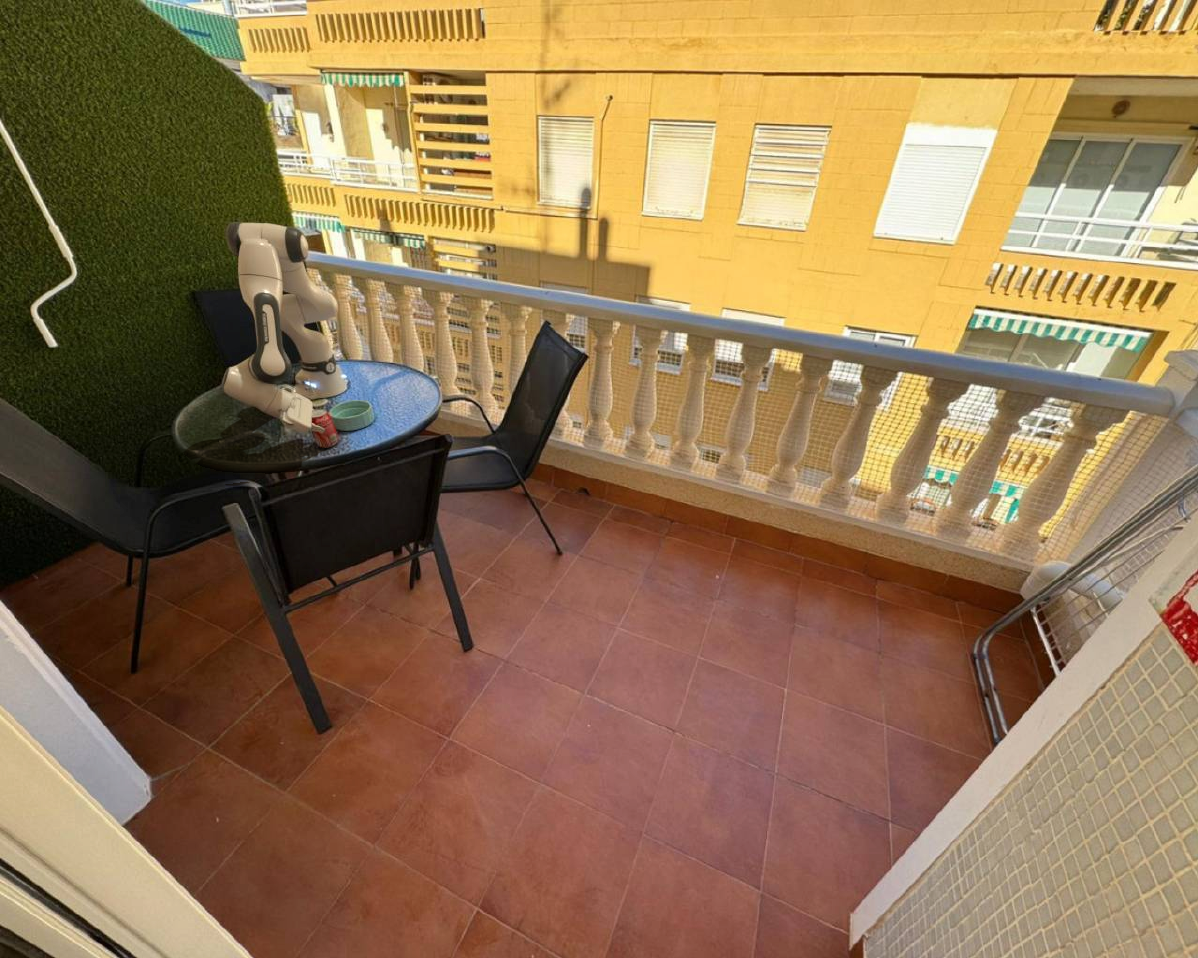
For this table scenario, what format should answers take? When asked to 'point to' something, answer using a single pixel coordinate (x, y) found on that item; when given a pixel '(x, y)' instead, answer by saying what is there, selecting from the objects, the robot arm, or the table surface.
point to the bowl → (352, 415)
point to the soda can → (330, 434)
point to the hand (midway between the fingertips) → (323, 425)
